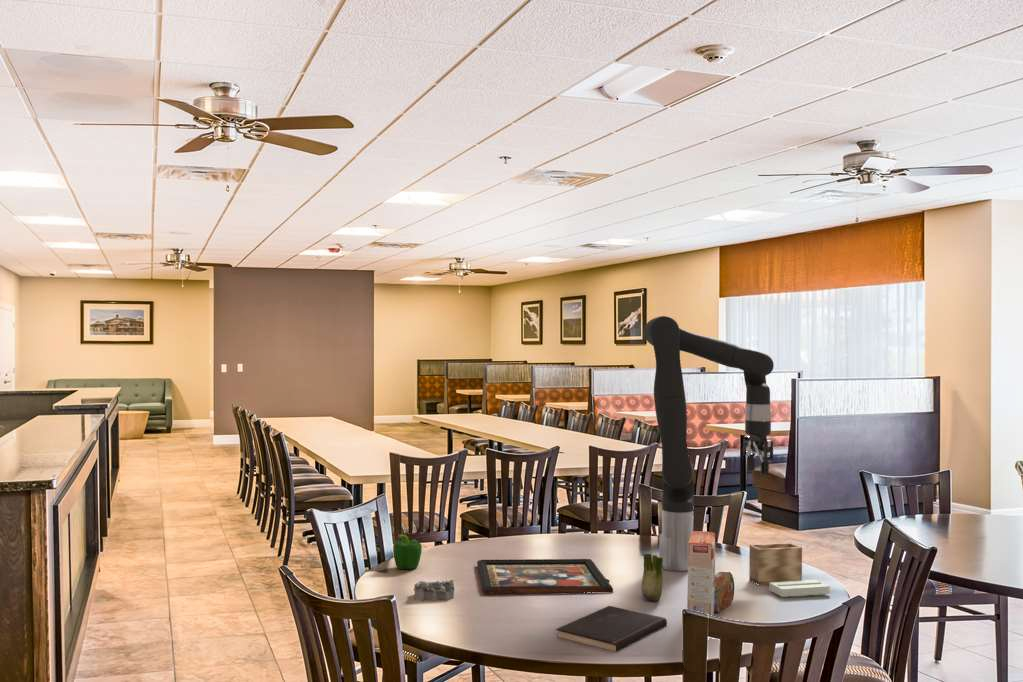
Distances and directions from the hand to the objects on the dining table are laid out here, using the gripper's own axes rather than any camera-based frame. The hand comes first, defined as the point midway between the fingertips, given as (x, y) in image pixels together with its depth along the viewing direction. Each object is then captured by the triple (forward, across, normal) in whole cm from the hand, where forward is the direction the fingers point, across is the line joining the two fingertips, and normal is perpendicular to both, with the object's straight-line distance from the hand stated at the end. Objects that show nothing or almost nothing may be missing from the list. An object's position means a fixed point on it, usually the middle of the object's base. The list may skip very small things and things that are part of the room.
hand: (757, 472), depth 267 cm
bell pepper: (+28, -17, -104) cm, 109 cm away
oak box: (+28, +18, -4) cm, 34 cm away
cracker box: (+28, +49, -41) cm, 70 cm away
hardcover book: (+29, +50, -63) cm, 85 cm away
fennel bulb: (+28, +28, -45) cm, 60 cm away
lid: (+28, +30, -4) cm, 41 cm away
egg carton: (+29, +14, -100) cm, 105 cm away
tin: (+28, +38, -30) cm, 56 cm away
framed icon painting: (+29, +2, -68) cm, 74 cm away
